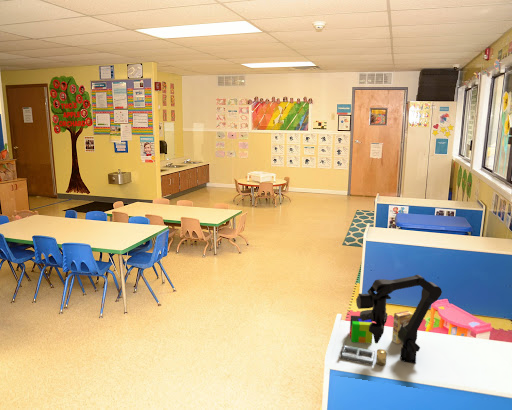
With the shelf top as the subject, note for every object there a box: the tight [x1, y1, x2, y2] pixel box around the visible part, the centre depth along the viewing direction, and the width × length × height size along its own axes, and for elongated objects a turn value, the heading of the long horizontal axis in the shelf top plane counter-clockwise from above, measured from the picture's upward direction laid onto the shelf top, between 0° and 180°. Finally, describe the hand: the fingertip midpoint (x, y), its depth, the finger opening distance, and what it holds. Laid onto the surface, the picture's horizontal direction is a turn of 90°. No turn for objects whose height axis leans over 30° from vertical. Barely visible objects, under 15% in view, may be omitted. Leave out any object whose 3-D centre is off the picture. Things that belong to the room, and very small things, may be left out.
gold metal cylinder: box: [375, 348, 388, 367], centre depth 199 cm, size 4×4×6 cm
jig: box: [339, 340, 376, 366], centre depth 205 cm, size 15×10×4 cm, turn 69°
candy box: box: [391, 310, 413, 345], centre depth 219 cm, size 9×4×15 cm, turn 112°
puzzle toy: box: [349, 315, 373, 344], centre depth 222 cm, size 10×10×10 cm
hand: (377, 338), depth 200 cm, fingers open, 9 cm apart
